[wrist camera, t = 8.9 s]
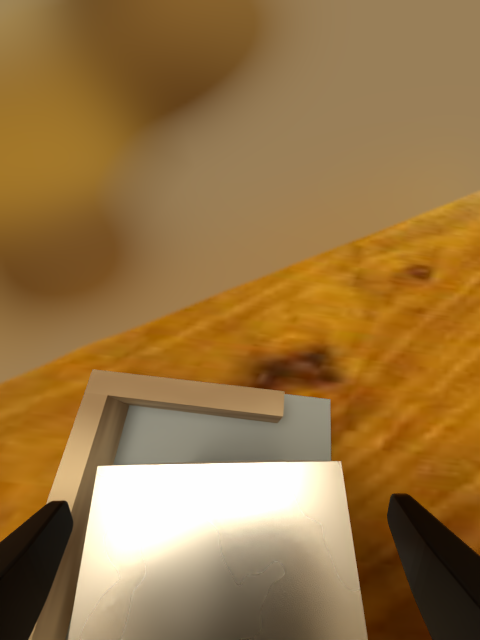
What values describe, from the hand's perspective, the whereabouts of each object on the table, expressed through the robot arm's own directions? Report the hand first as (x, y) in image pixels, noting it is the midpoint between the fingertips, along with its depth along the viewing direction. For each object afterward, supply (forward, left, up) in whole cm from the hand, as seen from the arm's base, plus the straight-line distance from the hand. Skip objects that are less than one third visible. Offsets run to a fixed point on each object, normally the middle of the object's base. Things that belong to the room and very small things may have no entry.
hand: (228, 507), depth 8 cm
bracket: (-2, +2, -8) cm, 9 cm away
